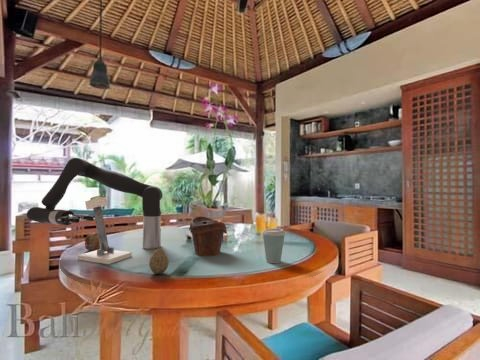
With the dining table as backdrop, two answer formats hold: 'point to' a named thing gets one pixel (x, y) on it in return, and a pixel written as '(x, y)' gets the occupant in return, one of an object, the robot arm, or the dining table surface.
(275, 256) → the disposable coffee cup
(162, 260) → the decorative egg
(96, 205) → the post
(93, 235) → the brown textured slab
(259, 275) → the dining table surface
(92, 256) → the base plate
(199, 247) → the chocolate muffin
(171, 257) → the dining table surface
